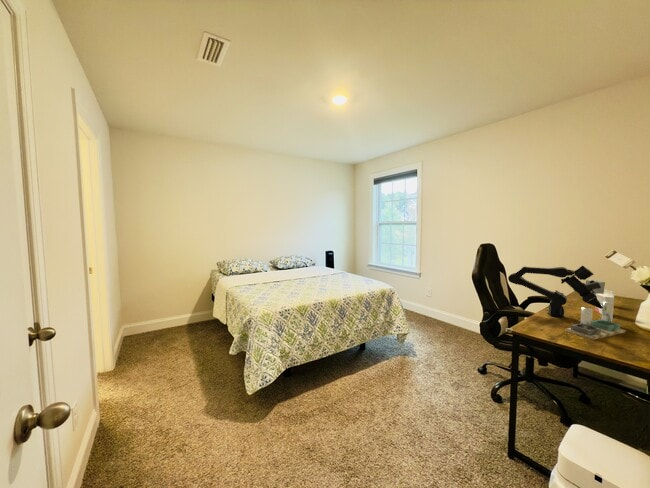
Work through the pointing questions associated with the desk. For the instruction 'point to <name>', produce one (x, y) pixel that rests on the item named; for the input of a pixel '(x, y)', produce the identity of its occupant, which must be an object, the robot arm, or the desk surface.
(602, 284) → the skincare box
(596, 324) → the pallet
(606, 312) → the billet
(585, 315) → the block
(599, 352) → the desk surface
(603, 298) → the ink cartridge box
